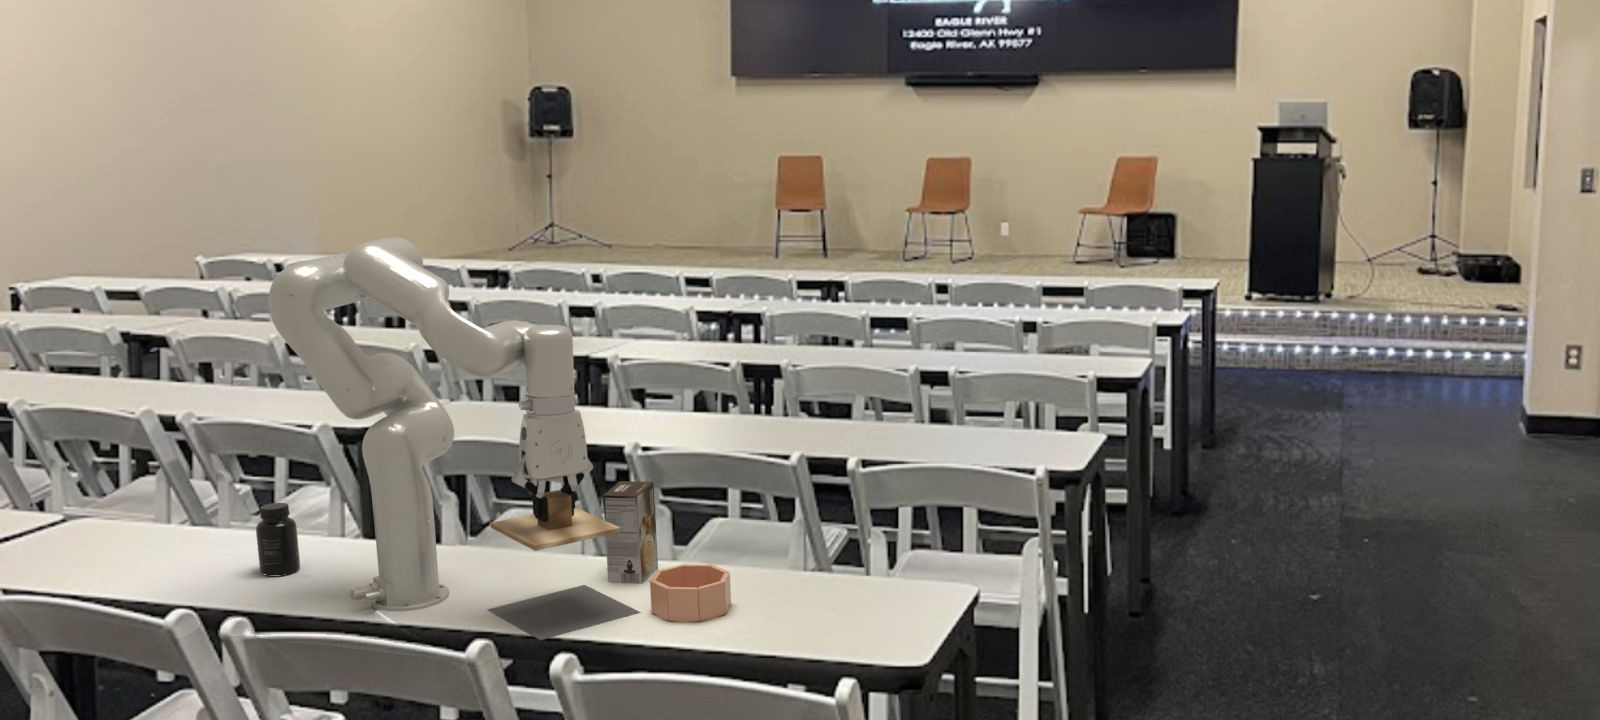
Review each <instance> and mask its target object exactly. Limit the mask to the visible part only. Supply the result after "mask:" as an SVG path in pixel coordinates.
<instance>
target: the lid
mask: <svg viewBox="0 0 1600 720" xmlns="http://www.w3.org/2000/svg"><path fill="white" fill-rule="evenodd" d="M560 490H561V489H556V490H551V491H546V492H544V496H545V497H547V512H548V520H547V521H546V522H543V521H540V520H538V519H536V518H535V515H534V514H528V515H523V516H518V517H512V518H508V519H504V520H498V521H493V522H489V523H490V529H493V530H494V531H496V532H498V533H501V534H502V535H504V536H506V537H507V538H509V539H511V540H513V541H516V542H517V543H519V544H521V545H523V546H525V547H527V548H529V549H530V550H533V551H534V552H537V551H542V550H545V549H551V548H556V547H559V546H565V545H568V544H574V543H578V542H584V541H587V540H591V539H596V538H601V537H606V535H611V534H615V533H620V527H618V526H616V525H613V524H611V523H609V522H607V521H605V519H601V518H600V517H599V516H596V515H594V514H591V513H589V512H587V511H584V510H583V509H580V508H578V507H576V506H575V509H574V516H572V503H571V495H569V494H566V493H564V492H562V491H560Z"/></svg>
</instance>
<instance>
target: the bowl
mask: <svg viewBox="0 0 1600 720" xmlns="http://www.w3.org/2000/svg"><path fill="white" fill-rule="evenodd" d="M649 586H650V608H651V611H650V612H651V613H652V614H655V616H656V617H658V618H659V619H662V620H665V621H670V622H676V623H697V622H705V621H709V620H713V619H716V618H719V617H721V616H723V615H726V613H727V612H728V611H729V610H730V606H731V604H732V596H731V595H732V594H731V593H732V591H731V589H732V588H731V572H730V571H729V570H727V569H724V568H722V567H719V566H717V565H714V564H701V563H700V564H699V563H697V564H696V563H693V564H692V563H691V564H690V563H687V564H686V563H683V564H677V565H674V566H671V567H666V568H663V569H658V570H655V573H653V576H652V577H651V578H650V580H649Z"/></svg>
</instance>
